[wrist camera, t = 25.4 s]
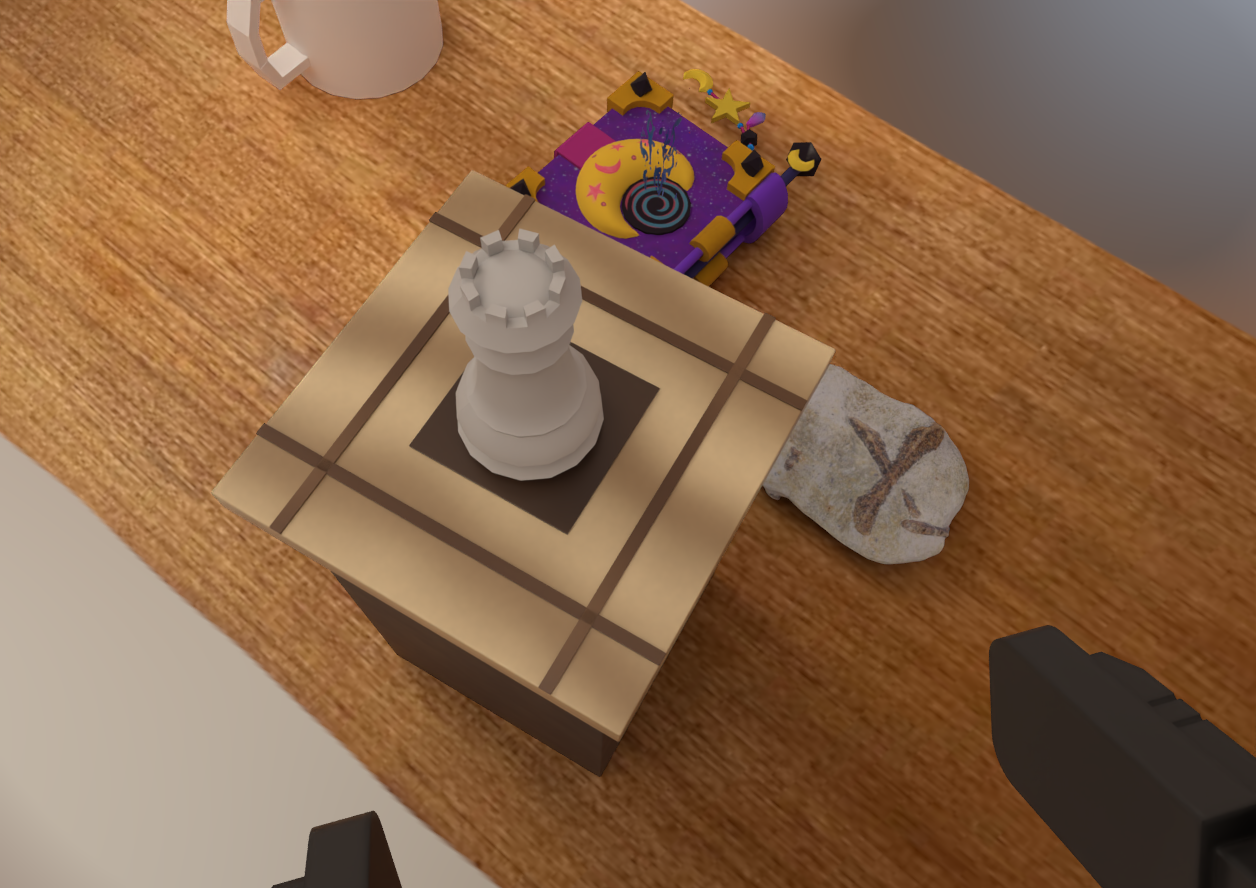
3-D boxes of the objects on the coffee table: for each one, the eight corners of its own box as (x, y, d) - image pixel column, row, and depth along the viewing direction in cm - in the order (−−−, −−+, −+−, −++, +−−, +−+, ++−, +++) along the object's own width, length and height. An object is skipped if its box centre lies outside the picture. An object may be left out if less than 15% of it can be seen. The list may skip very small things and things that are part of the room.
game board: (618, 742, 28) (619, 735, 27) (223, 506, 31) (208, 491, 30) (828, 366, 34) (837, 347, 32) (475, 190, 36) (471, 167, 35)
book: (848, 188, 64) (902, 39, 53) (586, 456, 56) (585, 346, 45) (673, 70, 68) (690, -93, 57) (403, 305, 60) (360, 169, 48)
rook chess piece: (478, 504, 30) (441, 377, 22) (443, 376, 31) (398, 219, 24) (622, 464, 30) (631, 327, 23) (580, 340, 32) (576, 177, 25)
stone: (983, 467, 56) (1005, 442, 53) (910, 598, 53) (929, 580, 50) (798, 361, 59) (809, 331, 56) (717, 480, 56) (724, 455, 53)
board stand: (600, 777, 49) (606, 693, 29) (396, 653, 51) (270, 495, 31) (714, 572, 53) (788, 376, 33) (522, 466, 56) (483, 222, 36)
